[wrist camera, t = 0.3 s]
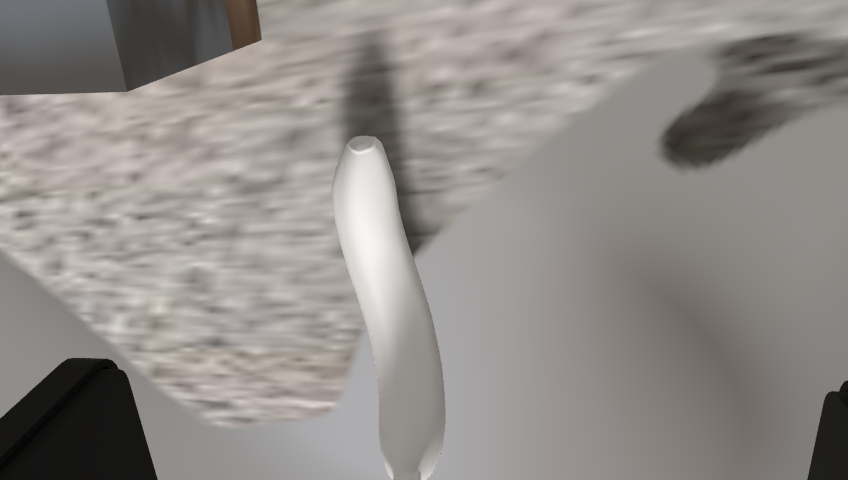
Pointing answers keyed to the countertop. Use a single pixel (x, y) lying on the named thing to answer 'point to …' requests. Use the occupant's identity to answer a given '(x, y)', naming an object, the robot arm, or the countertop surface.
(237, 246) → the countertop surface
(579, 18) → the countertop surface
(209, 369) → the countertop surface
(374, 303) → the banana
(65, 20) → the dispenser
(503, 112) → the countertop surface
